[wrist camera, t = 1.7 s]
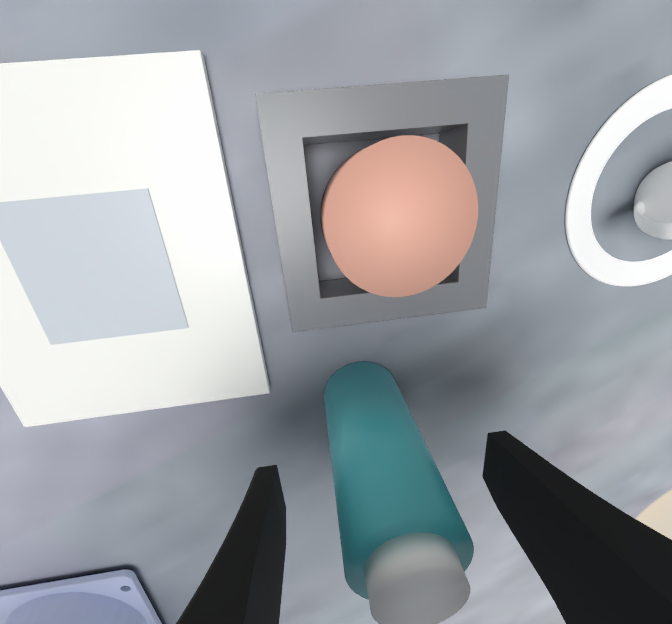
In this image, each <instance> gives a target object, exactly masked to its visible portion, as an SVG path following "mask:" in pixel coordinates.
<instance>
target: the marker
mask: <svg viewBox="0 0 672 624" xmlns="http://www.w3.org/2000/svg"><path fill="white" fill-rule="evenodd" d="M324 402H325V411H326V419H327V428H328V436H329V445H330V453H331V462H332V470H333V479H334V487H335V496H336V504H337V513H338V521H339V530H340V538H341V547H342V555H343V564H344V572H345V578H346V581H347V583H348V585H349V587H350V588H351V589H352V590H353V591H354V592H355V593H356V594H358V595H360V596H361V597H363V598H366V599H368V600H369V603H370V609H371V614H372V616H373V618H374V619H375V621H377V622H378V623H379V624H437V623H440V622H442V621H444V620H446V619H447V618H449V617H451V616H452V615H454V614H455V613H456V612H458V611H459V610H460V609H461V608H462V607H463V605H464V604H465V603H466V601H467V600H468V597H469V594H470V585H469V582H468V580H467V578H466V575H465V573H464V572H465V570H466V569H467V568H468V566H469V564H470V562H471V560H472V557H473V553H474V546H473V542H472V539H471V537H470V535H469V533H468V531H467V529H466V527H465V524H464V522H463V520H462V518H461V516H460V514H459V512H458V510H457V508H456V506H455V504H454V502H453V500H452V497H451V495H450V493H449V491H448V489H447V487H446V485H445V483H444V481H443V479H442V477H441V475H440V473H439V471H438V468H437V466H436V464H435V462H434V460H433V458H432V456H431V454H430V452H429V450H428V448H427V446H426V444H425V441H424V439H423V437H422V435H421V433H420V431H419V429H418V427H417V425H416V423H415V421H414V419H413V417H412V415H411V412H410V410H409V408H408V406H407V404H406V402H405V400H404V398H403V396H402V394H401V392H400V390H399V388H398V385H397V383H396V381H395V379H394V377H393V376H392V374H391V373H390V372H389V371H388V370H387V369H386V368H385V367H383V366H381V365H379V364H376V363H373V362H355V363H351V364H348V365H346V366H344V367H342V368H340V369H339V370H338V371H336V372H335V373H334V374H333V375H332V376H331V377H330V379H329V380H328V382H327V384H326V386H325V390H324Z"/></svg>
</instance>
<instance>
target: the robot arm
mask: <svg viewBox="0 0 672 624" xmlns="http://www.w3.org/2000/svg"><path fill="white" fill-rule="evenodd" d="M483 479H484V481H485V483H486V485H487V487H488V489H489V492H490V494H491V496H492V498H493V500H494V502H495V504H496V506H497V508H498V510H499V511H500V513H501V515H502V516H503V518H504V519H505V521H506V523H507V524H508V526H509V528H510V529H511V531H512V533H513V534H514V536H515V537H516V539H517V541H518V542H519V544H520V545H521V547H522V549H523V550H524V552H525V553H526V555H527V557H528V558H529V560H530V562H531V563H532V565H533V566H534V568H535V570H536V571H537V573H538V574H539V576H540V578H541V579H542V581H543V582H544V584H545V586H546V588H547V589H548V591H549V593H550V594H551V596H552V598H553V600H554V601H555V603H556V605H557V607H558V609H559V611H560V613H561V615H562V617H563V619H564V620H565V622H566V624H672V540H671V539H669V538H667V537H665V536H664V535H662V534H660V533H658V532H657V531H655V530H653V529H651V528H650V527H648V526H646V525H644V524H643V523H641V522H639V521H638V520H636V519H634V518H632V517H631V516H629V515H628V514H626V513H624V512H623V511H621V510H619V509H618V508H616V507H615V506H613V505H611V504H610V503H608V502H607V501H605V500H604V499H602V498H601V497H599V496H597V495H596V494H594V493H593V492H591V491H590V490H588V489H587V488H585V487H584V486H582V485H581V484H579V483H578V482H576V481H575V480H573V479H572V478H571V477H569V476H568V475H566V474H565V473H563V472H562V471H561V470H559V469H558V468H556V467H555V466H553V465H552V464H551V463H549V462H548V461H546V460H545V459H544V458H542V457H541V456H540V455H538V454H537V453H535V452H534V451H533V450H531V449H530V448H529V447H527V446H526V445H524V444H523V443H522V442H520V441H519V440H518V439H516V438H515V437H513V436H512V435H511V434H509V433H508V432H506V431H499V432H492V433H488V436H487V444H486V452H485V461H484V469H483ZM285 550H286V505H285V501H284V496H283V492H282V487H281V482H280V478H279V473H278V468H277V465H272V466H266V467H259V468H257V469H256V471H255V473H254V476H253V478H252V481H251V483H250V486H249V488H248V491H247V493H246V495H245V498H244V500H243V502H242V505H241V507H240V509H239V511H238V513H237V515H236V517H235V520H234V522H233V524H232V526H231V528H230V530H229V532H228V534H227V536H226V538H225V540H224V542H223V544H222V546H221V548H220V549H219V551H218V553H217V555H216V557H215V559H214V561H213V562H212V564H211V566H210V568H209V570H208V572H207V573H206V575H205V577H204V579H203V580H202V582H201V584H200V586H199V587H198V589H197V591H196V592H195V594H194V596H193V597H192V599H191V601H190V602H189V604H188V606H187V607H186V609H185V610H184V612H183V614H182V615H181V617H180V618H179V620H178V622H177V623H176V624H279V616H280V605H281V594H282V583H283V572H284V561H285ZM0 624H162V623H161V621H160V619H159V617H158V616H157V614H156V612H155V610H154V608H153V606H152V604H151V603H150V601H149V599H148V597H147V595H146V593H145V591H144V590H143V588H142V586H141V584H140V582H139V580H138V578H137V577H136V575H135V573H134V572H133V571H131V570H127V569H124V570H118V571H112V572H106V573H100V574H94V575H88V576H82V577H76V578H71V579H65V580H59V581H53V582H47V583H41V584H35V585H29V586H23V587H17V588H12V589H6V590H0Z"/></svg>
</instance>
